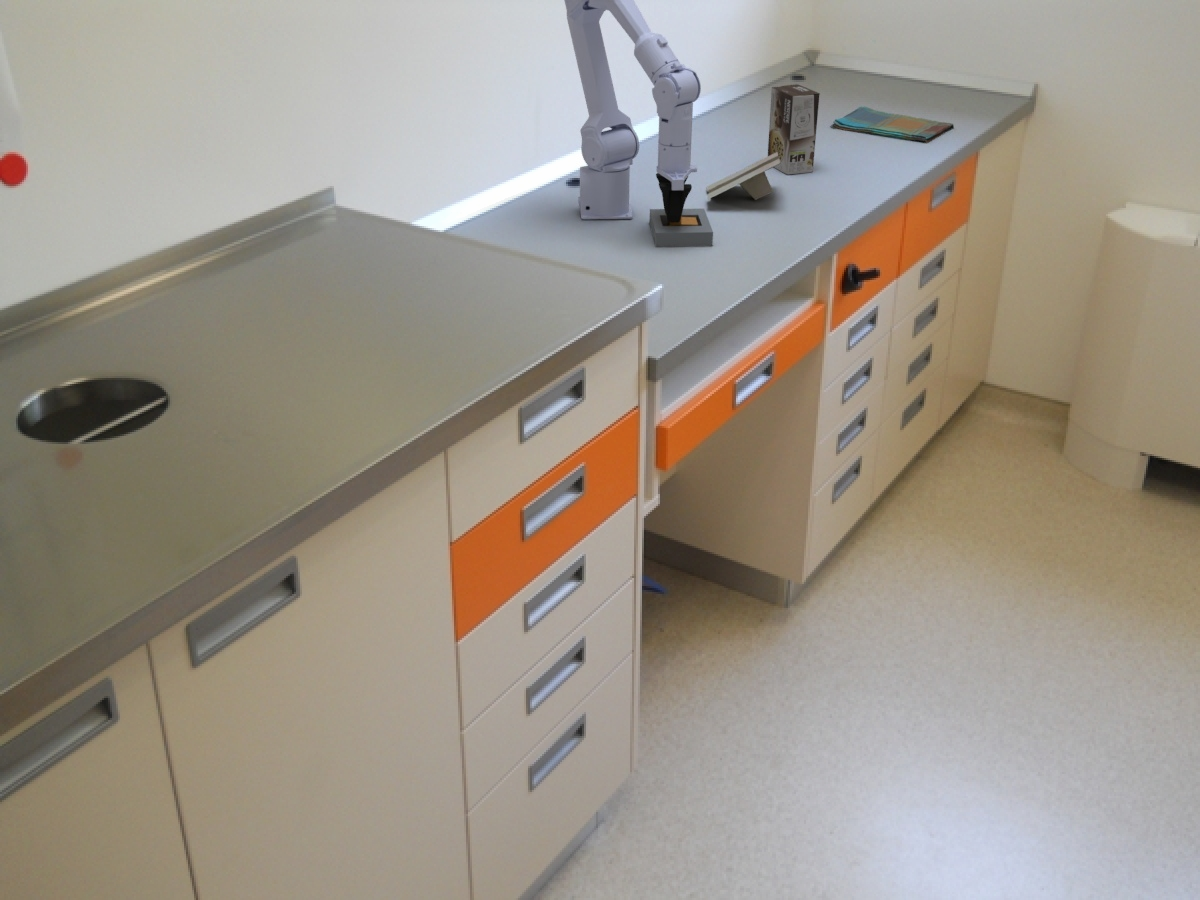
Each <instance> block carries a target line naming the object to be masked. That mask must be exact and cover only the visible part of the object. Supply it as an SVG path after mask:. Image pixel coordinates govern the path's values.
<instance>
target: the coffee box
mask: <svg viewBox="0 0 1200 900" xmlns="http://www.w3.org/2000/svg"><path fill="white" fill-rule="evenodd" d="M770 95H771V96H770V110H769V112H770V113H769V126H768V127H769V128H768V129H769V130H768V141H767V143H768V144H767V157H768V156H770V155H772V154H774V153H776V152H777V153H778V157H779V159H780V161H781V164H779V165H777V166H775V167H773V168H775V169H776V170H778V171H780V172H782V173H783V174H786V175H789V176H790V175H796V174H803V173H804V174H806V173H813V171H814V162H815V161H814V160H815V151H816V137H817V127H818V117H819V103H820V95H821V93H820V92H817V91H815V90H812V89H810V88H807V87H805V86H803V85H800V84H797V83H795V84H787V85H786V84H785V85H780V86H772V87H771V94H770Z"/></svg>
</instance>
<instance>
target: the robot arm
mask: <svg viewBox="0 0 1200 900" xmlns="http://www.w3.org/2000/svg"><path fill="white" fill-rule="evenodd" d="M564 5H565V10H566V19H567V25H568V28H569V33H570V37H571V42H572V45H573V50H574V54H575V60H576V64H577V68H578V73H579V76H580V82H581V87H582V92H583V94H584V99H585V105H586V107H587V108H586V109H587V113H588V118H587V119H586V120H585V122H584V124H583V125H582V126H581V128H580V131H579V132H580V135H581V155H582V159H583V160H584V163H585V164H586V165H587V166H586V165H585V166H580V167H579V196H578V200H577V201H578V202H577V203H578V207H579V211H580V219H582V220H628V219H629V220H631V219H633V211H632V208H631V204H630V176H631V175H630V173H631V171H630V170H631V165H632V166H633V163H634V161H633V160H634V159H635V158H636V157H637V156H638V153H639V151H640V139H639V136H638V135H637V132H636V131H635V130H634V127H633V124H632V121H631V118H630V117H629V116H628V115H627V114H625V113H624V112H622V111H621V110H620V109H619V106H618V103H617V102H618V101H617V97H616V96H617V95H616V93H615V87H614V84H613V79H612V74H611V70H610V66H609V61H608V57H607V56H608V55H607V51H606V47H605V42H604V38H603V33H602V28H601V25H600V24H601V23H600V21H601V18H602V16H603V14H604V13H605V12H606V11H609V13H611V15H612V17H614V18H615V20H616V21H617V23H618V24H619V25H620V26H621V27H622V29H623V31H624V32H625V33H626V34H627V36H628V37H629V38H630V40H632V43H634V50H633V56H634V57H635V59H636V60H637V62H638V63H639V66H641V68H642V69H643V71H644V72H645V74H646V76H647V77H648V79H649V80H650V82H651V83H652V85H653V86H654V87H652V88H651V92H652V98H653V101H654V103H655V104H656V114H657V116H658V144H657V145H658V146H657V147H658V149H657V166H656V172H657V173H656V174H655V177H656V179H657V181H658V187H659V189H660V191H661V195H662V202H663V209H664V210H665V213H666V216H667V220H668V223H679V222H680V219H681V216H682V212H683V209H684V207H685V203H686V200H687V198H688V196H689V194H690V193H691V191H692V188H693V186H692V184H690V183H686V181H687V179H688V178H689V175H690V174H691V173H697V172H698V167H697V165H694V164H693V165H691V163H692V162H691V161H692V136H693V135H692V132H693V115H694V114H693V112H694V110H693V107H694V102H696V101H697V100H698V99H699V98H700V95H701V91H702V90H701V87H702V86H701V81H700V79H699V76H698V74H697V72H696V71H695V70H694V69H692V68H691V67H686V65H685V64H683V63H681V62H680V61H679V59H678V57H677V56H676V55H675V53H674V51H673V50H672V48H671V47H670V45H669V42H668V40H667V38H666V37H665V36H663V35H662V34H660V33H655V32H653V31H652V30H651V29H650V27H649V24H648V23H647V21H646V19H645V18H644V16H643V14H642V12H641V10H640V8H639V7H638V5H637V4H636V1H635V0H564ZM608 128H610V129H608ZM605 129H608V130H605ZM603 130H604V131H603Z"/></svg>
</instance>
